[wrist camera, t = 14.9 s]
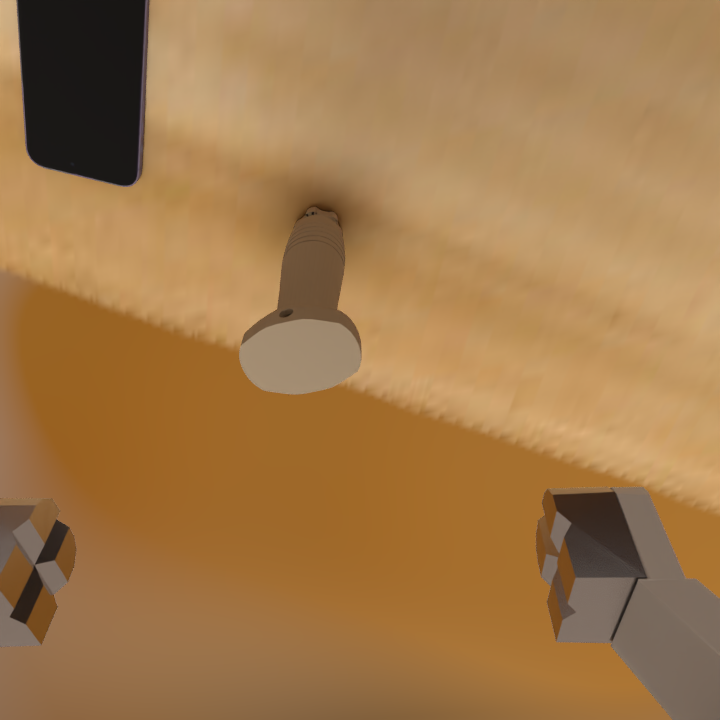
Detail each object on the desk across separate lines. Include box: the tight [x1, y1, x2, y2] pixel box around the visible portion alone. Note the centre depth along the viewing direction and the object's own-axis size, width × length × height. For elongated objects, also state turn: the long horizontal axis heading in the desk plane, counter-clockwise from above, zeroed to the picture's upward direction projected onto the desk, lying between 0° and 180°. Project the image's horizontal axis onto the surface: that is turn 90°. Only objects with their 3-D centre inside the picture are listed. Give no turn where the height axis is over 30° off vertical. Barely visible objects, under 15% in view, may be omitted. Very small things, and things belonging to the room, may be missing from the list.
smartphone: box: [17, 0, 149, 187], centre depth 38 cm, size 7×1×15 cm
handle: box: [239, 207, 361, 394], centre depth 39 cm, size 5×6×15 cm
